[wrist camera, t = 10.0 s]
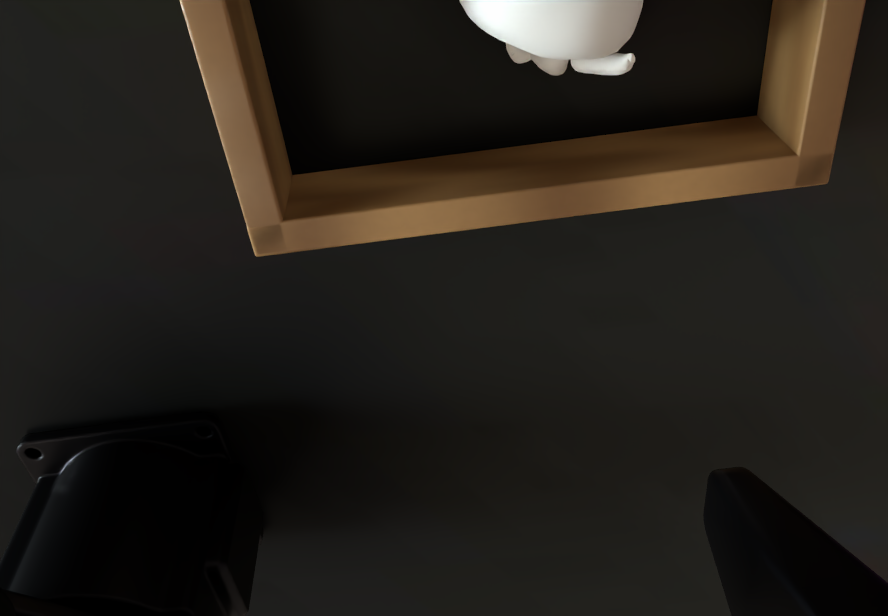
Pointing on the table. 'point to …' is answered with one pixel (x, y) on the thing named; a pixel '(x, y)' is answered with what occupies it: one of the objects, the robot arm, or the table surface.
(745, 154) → the frame
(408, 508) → the table surface
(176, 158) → the table surface
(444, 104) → the table surface
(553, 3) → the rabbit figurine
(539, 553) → the table surface
